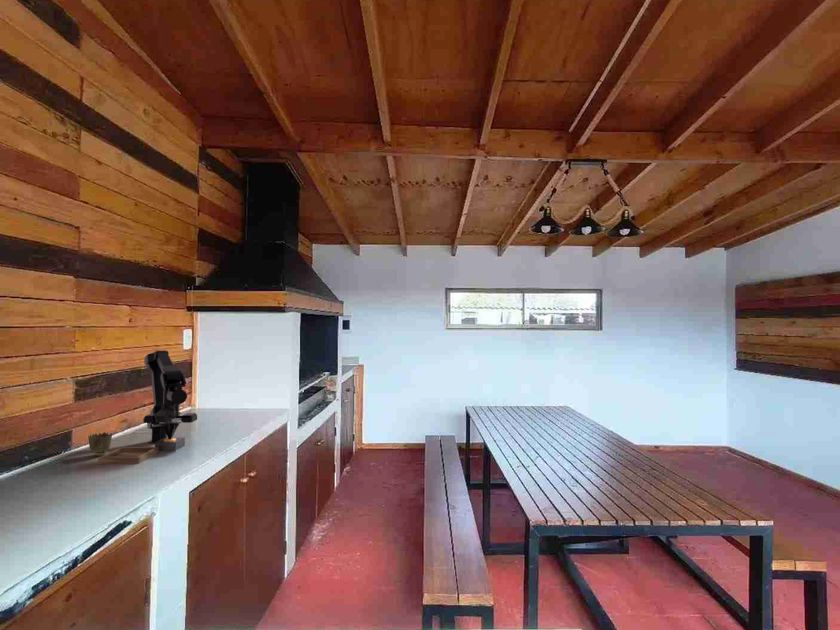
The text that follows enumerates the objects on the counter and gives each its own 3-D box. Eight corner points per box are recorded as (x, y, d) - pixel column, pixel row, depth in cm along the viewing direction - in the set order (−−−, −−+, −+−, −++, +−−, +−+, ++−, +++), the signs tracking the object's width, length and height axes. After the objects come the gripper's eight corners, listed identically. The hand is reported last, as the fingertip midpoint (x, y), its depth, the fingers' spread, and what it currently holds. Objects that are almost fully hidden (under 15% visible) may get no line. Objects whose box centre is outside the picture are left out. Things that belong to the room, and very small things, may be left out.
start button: (167, 443, 176) (167, 437, 177) (178, 443, 177) (178, 437, 177) (161, 446, 172) (161, 440, 172) (173, 446, 173) (173, 440, 173)
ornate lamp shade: (116, 453, 167) (117, 433, 167) (96, 459, 160) (97, 437, 160) (102, 451, 169) (103, 431, 169) (82, 457, 162) (83, 435, 162)
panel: (164, 446, 178) (164, 437, 178) (184, 445, 179) (184, 437, 179) (154, 451, 170) (154, 442, 170) (175, 451, 171) (175, 442, 171)
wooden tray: (121, 452, 168) (121, 447, 168) (158, 452, 169) (158, 446, 169) (97, 464, 154) (97, 458, 154) (138, 463, 155) (138, 457, 155)
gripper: (136, 404, 166) (134, 444, 166) (186, 404, 168) (185, 444, 168) (151, 399, 177) (150, 437, 177) (198, 399, 179) (197, 436, 179)
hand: (170, 439), depth 175 cm, fingers closed, pressing on start button
